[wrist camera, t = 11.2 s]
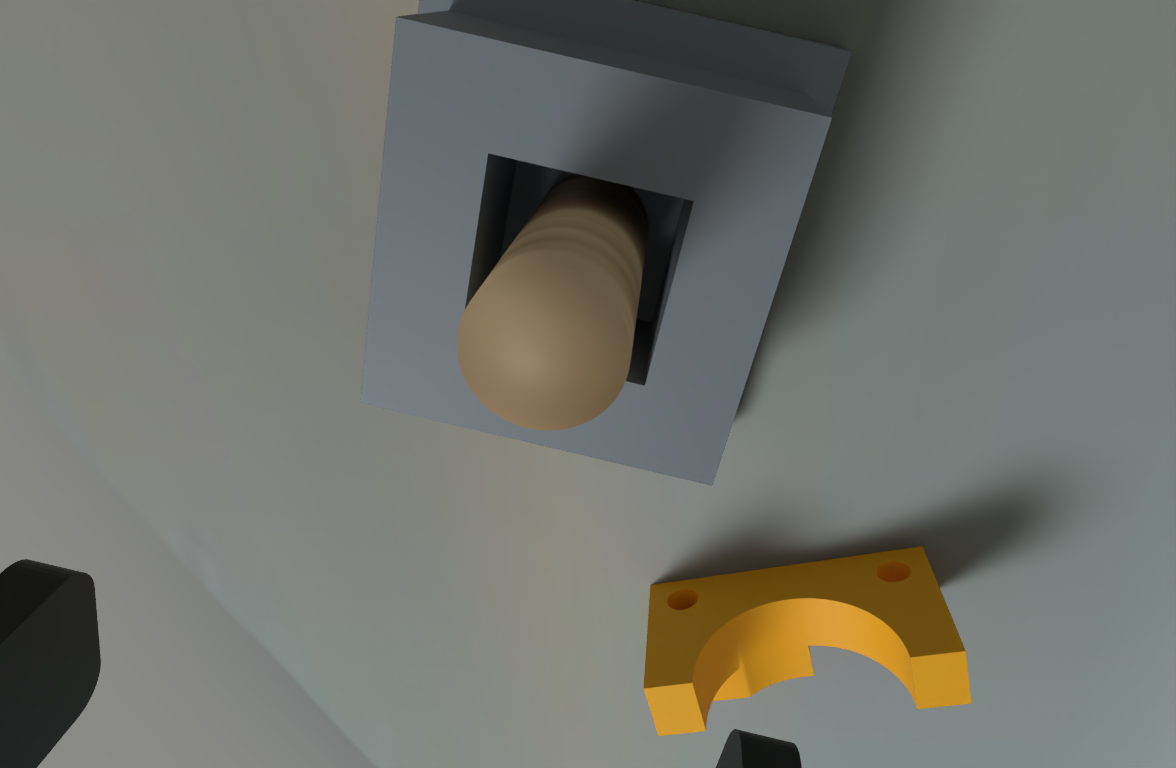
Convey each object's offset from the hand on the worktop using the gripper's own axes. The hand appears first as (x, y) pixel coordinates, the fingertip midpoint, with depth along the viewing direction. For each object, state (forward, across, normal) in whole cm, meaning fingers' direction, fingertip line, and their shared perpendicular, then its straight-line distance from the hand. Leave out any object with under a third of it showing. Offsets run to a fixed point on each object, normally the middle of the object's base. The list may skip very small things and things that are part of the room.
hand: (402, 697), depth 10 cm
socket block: (+24, 0, 0) cm, 24 cm away
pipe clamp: (+24, -12, +16) cm, 31 cm away
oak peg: (+22, 0, 0) cm, 22 cm away
